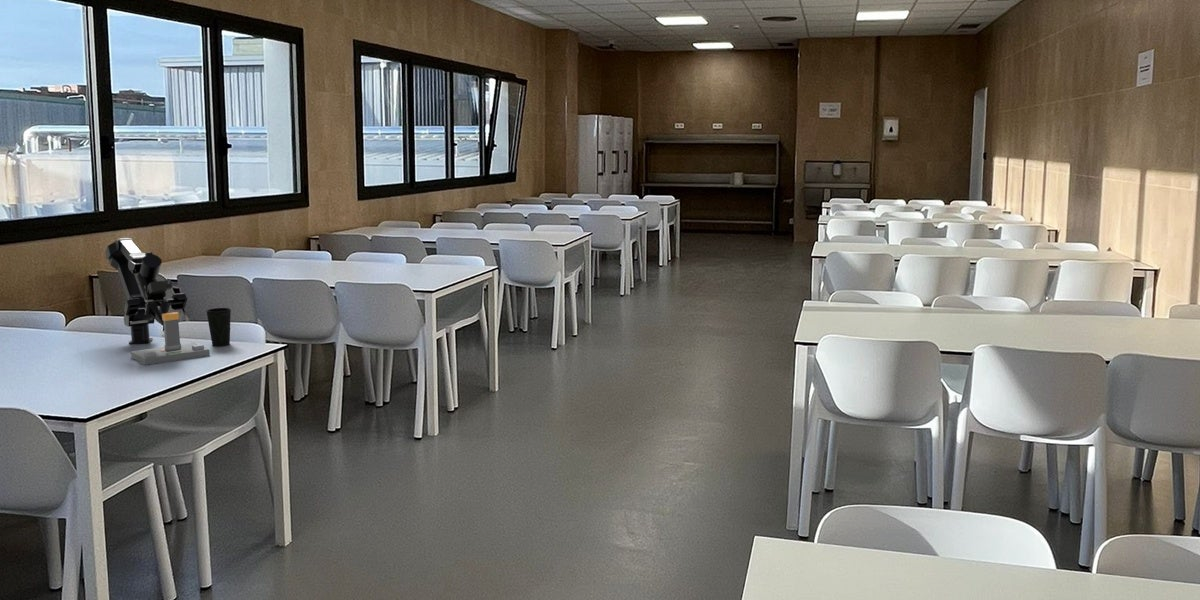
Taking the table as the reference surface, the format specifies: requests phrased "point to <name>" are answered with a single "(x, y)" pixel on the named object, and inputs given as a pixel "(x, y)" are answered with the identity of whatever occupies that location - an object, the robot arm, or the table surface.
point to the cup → (219, 326)
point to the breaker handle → (171, 331)
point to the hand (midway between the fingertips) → (163, 324)
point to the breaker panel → (169, 354)
